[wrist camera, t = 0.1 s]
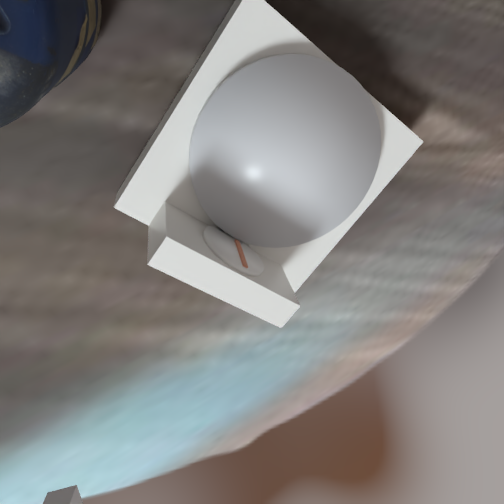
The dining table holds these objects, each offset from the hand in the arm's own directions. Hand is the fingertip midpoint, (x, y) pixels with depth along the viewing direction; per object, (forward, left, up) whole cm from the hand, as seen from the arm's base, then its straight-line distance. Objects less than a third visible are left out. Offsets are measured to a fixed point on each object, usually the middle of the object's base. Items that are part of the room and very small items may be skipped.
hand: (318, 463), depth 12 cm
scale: (-2, +4, -28) cm, 28 cm away
